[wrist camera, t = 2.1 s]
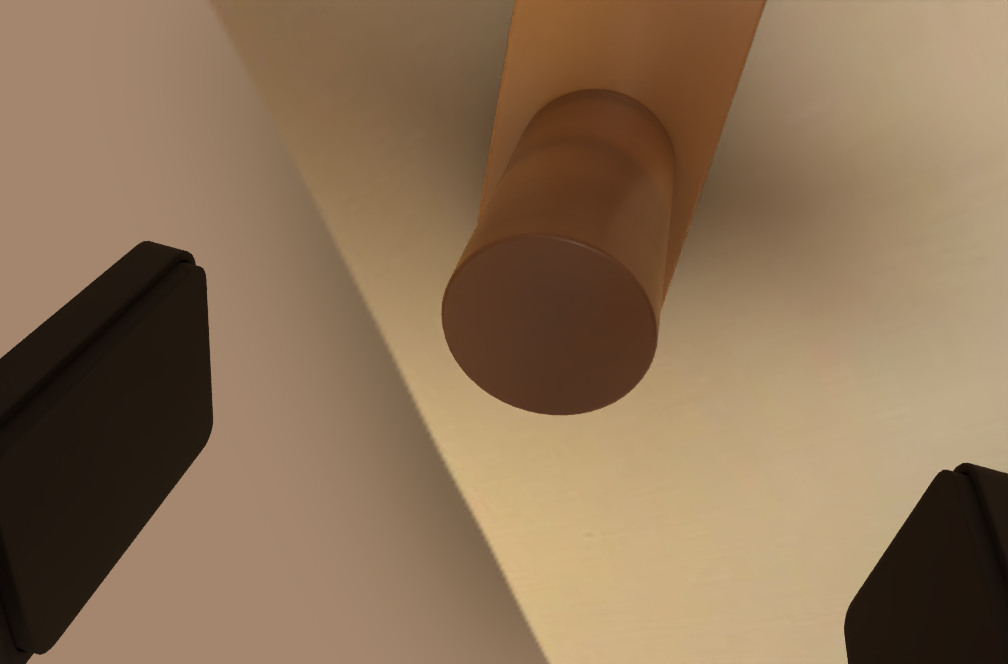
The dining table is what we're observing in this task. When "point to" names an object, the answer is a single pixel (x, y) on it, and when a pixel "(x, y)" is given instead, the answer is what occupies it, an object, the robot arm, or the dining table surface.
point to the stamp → (591, 193)
